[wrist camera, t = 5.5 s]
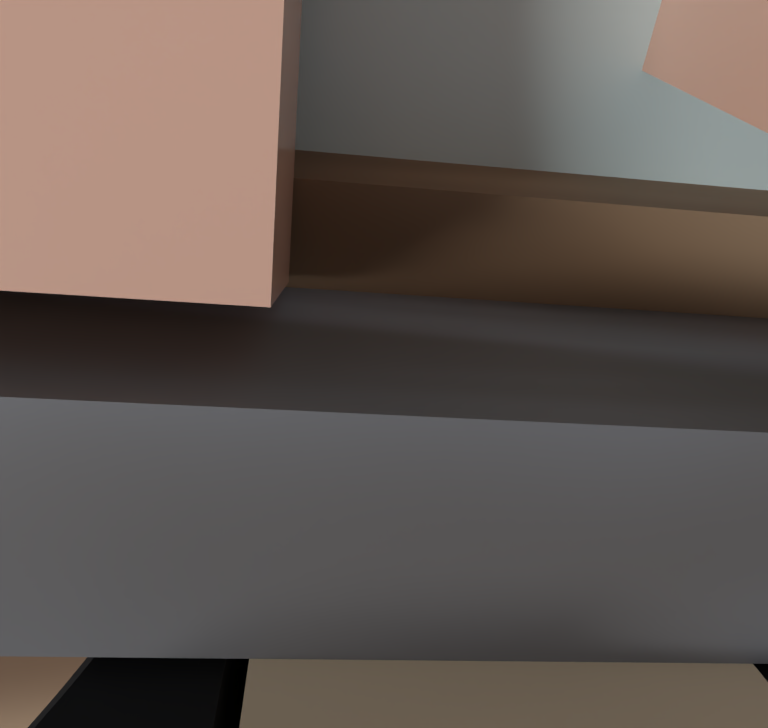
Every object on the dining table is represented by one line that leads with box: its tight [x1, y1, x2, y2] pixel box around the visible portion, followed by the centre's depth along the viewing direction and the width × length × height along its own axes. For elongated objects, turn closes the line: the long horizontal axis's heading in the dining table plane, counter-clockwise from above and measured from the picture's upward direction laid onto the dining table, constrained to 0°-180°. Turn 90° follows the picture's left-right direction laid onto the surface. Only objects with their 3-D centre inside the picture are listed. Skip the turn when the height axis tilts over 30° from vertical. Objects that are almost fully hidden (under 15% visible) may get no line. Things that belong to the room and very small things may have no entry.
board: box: [0, 150, 768, 728], centre depth 13 cm, size 18×20×2 cm
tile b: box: [0, 0, 302, 307], centre depth 6 cm, size 4×4×3 cm
